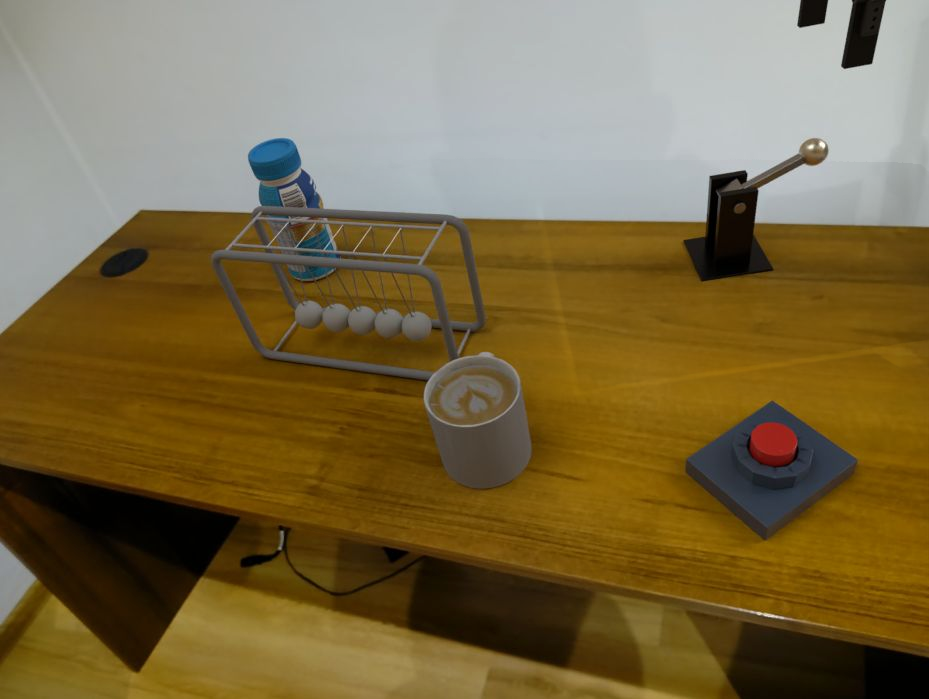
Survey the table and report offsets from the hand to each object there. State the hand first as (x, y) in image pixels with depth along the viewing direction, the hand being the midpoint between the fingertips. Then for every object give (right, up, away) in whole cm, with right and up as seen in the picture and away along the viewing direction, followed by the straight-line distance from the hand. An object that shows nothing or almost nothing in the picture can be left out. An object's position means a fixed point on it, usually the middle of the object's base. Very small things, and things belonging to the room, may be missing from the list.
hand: (832, 43), depth 76 cm
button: (-10, -42, -8) cm, 44 cm away
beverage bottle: (-62, -20, +35) cm, 74 cm away
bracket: (-4, -21, +19) cm, 28 cm away
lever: (-1, -12, +11) cm, 17 cm away
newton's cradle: (-51, -32, +19) cm, 63 cm away
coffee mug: (-36, -43, +4) cm, 56 cm away
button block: (-9, -45, -5) cm, 46 cm away
